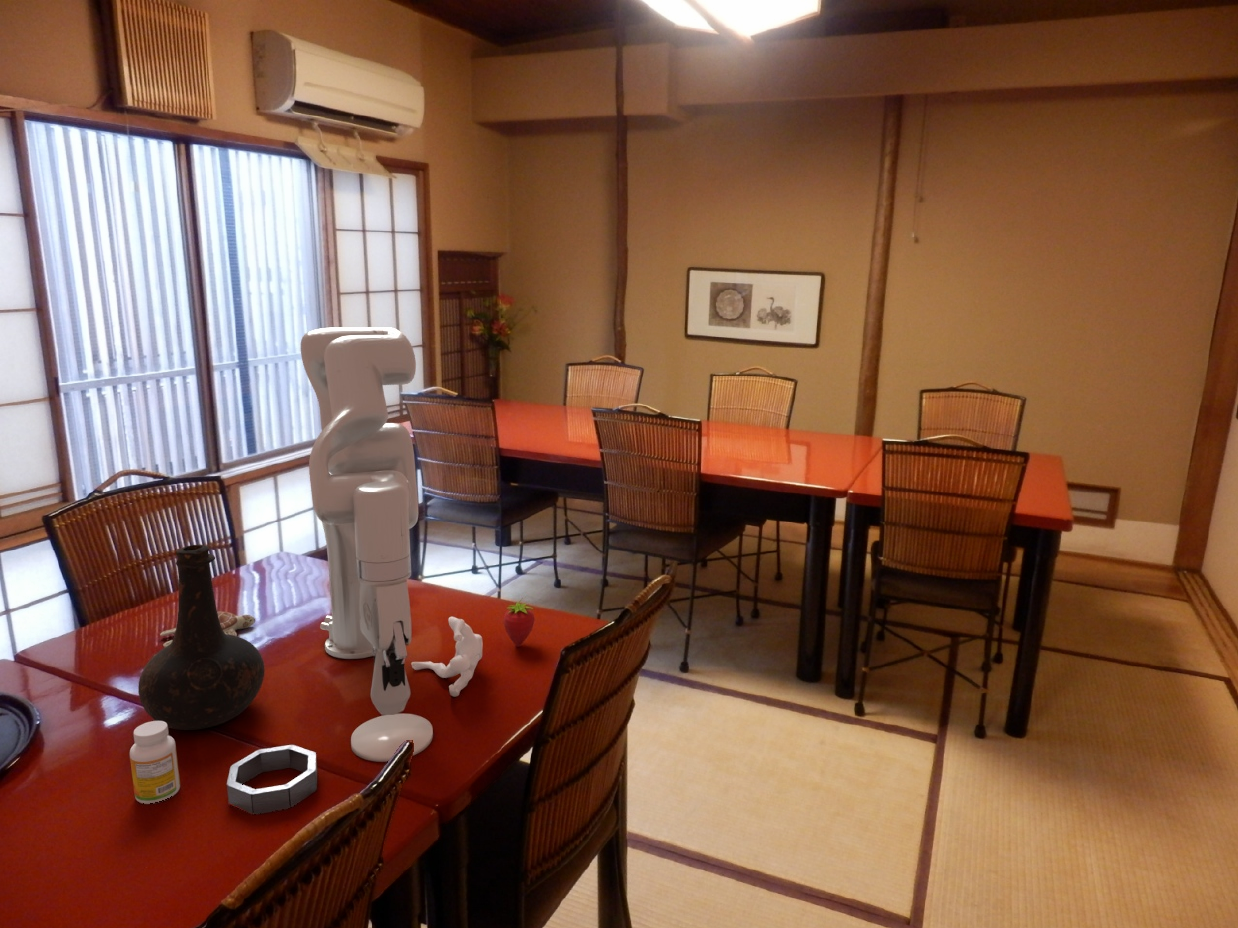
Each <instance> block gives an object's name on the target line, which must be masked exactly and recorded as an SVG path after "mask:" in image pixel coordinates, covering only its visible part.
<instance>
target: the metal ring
mask: <svg viewBox="0 0 1238 928" xmlns="http://www.w3.org/2000/svg"><path fill="white" fill-rule="evenodd" d="M316 753H317V752H315V751H312V750H309V749H306V748H303V747H300V746H298V745H295V744H289V745H281V746H275V747H268V748H261V749H257V750H255V751H254V752H252V753H250V754H249V755H246V756H245V757H244V758H242V759H241V760H238V761H237V762H235V763H233V764H232V765H230V768H229V773H228V777H227V781H226V787H227V798H228V804H229V803H230V804H232V805H234V806H237V807H239V808H241V809H243V810H245V811H247V812H249V813H248V814H250V813H251V814H250V815H252V814H253V813H254V814H256V815H261V814H264V813H265V814H266V813H271V812H272V811H273V812H276V811H275V810H278V811H282V809H284V810H288V808H290V807H292V808H294V807H295V806H296V805H297V803H298V804H299V803H300V802H301V801H303V800H305V799H306V798H308V797H309V796H310V795H312V794H313V793H315V792H317V790H318V766H317V765H318V764H317V762H318V761H317V754H316ZM289 768H290V769H293V770H296V771H299V772H301V774H299V775H297V777H295V778H294V779H292V780H291V781H289V782H287V783H285V784H281V785H274V786H269V787H262V788H256V789H255V788H252V787H251V786H248V785H245V784H246V783H247V782H249V781H250V779H251V780H252V779H254V778H255V777H257V776H258V774H259V775H260V774H262V773H266V772H271V771H278V770H284V769H289ZM246 781H247V782H246ZM245 782H246V783H245ZM243 783H244V784H243ZM242 784H243V785H242ZM294 805H295V806H294ZM290 809H291V808H290ZM245 811H244V812H245ZM247 812H246V813H247ZM260 813H261V814H260ZM254 814H253V815H254Z"/></svg>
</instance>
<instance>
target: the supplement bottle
mask: <svg viewBox="0 0 1238 928" xmlns="http://www.w3.org/2000/svg"><path fill="white" fill-rule="evenodd" d="M133 741H134V744H133V745H132V746H131V748H130V750H129V761H130V767H131V776H132V784H133V785H132V786H133V792H134V797H135V800H136V801H137V802H139V803H140V804H143V803H144V805H150V803H153V804H156V803H155V802H158V803H160V802H159V801H162V800H164V801H166V800H165V799H167V798H169V799H170V797H171V796H172V797H174V796H175V795H176V794H177V793H178V792H179V791H180V788H181V781H180V773H179V763H178V753H177V746H176V741H175V739H174V738H173V737H172V736H171V735H170V734H169V727H168V726H167V723H166V722H164V721H155V720H153V721H152V720H151V721H147V722H144V723H142V724H140V725H138V726H137V727H135V729H134V730H133ZM172 797H171V798H172ZM167 800H168V799H167ZM162 802H163V801H162Z"/></svg>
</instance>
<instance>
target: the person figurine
mask: <svg viewBox="0 0 1238 928" xmlns="http://www.w3.org/2000/svg"><path fill="white" fill-rule="evenodd" d="M447 620H448V625H449V627H450V628H451V630H452V631H453V640H454V641H455V654H454V657H453V658H451V659H450V660H449V663H448V664H447V666H446V665H445V663H443V662H436V663H434V662H432V661H412V662H411V663H410V664H411V667H412V669H414V671H415V670H416V671H419V670H424V669H430V670H433V671H434V672H435V674H436V675H437V676H439V677H440V678H442V679H444V678H445V679H447V678H452V677H455V676H457V675H459V674H460V676H459V678H457V679H456V680H455V682H454V683H452V684H450V685H449V686H448V689H449V690H448V691H449V694H450V696H452V697H453V698H455V697H458V696H459V695H460V692H461V690H463V689H464V688H466V687H467V686H468V683H469V682H470V680H471V679H472V678H473V676H474V672H475V669H476V667H477V665H478V663H479V661H480V660H481V659H482V658H483V647H484V646H483V643H484V642H483V637H482V636H481V634H478V633H474V632H473V629H472V627H471V626H470V625H469V624H467V623H466V622H465V620H464V619H462V618H457V617H455V616H450V617H448V619H447Z"/></svg>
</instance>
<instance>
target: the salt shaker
mask: <svg viewBox="0 0 1238 928" xmlns="http://www.w3.org/2000/svg"><path fill="white" fill-rule="evenodd" d="M391 644H394V641H393V642H391ZM391 644H390V645H391ZM394 652H395V649H394V650H390V651H389V656H390V654H391V653H394ZM375 656H376V657H375V664H374V663H373V672H372V673H373V674H372V682H371V688H370V698H371V699H370V700H371V702H372V704H373V705H374V707H375V709H376V710H377V711H378V713H379V714H381V716H384V715H394V714H400V713H402V712H404V710H405V708H406V705H407V703H408V700H409V699H410V697H411V694H412V693H411V687H410V683H409V681H408V676H407V672H406V671H405V686H404V685H403V683H402V681H401V684H400V685H399V686H396V687H392V686H391V685H390V683H388V685H387V688H386V690H385V691H384V688H383V679H382V666H383V665H384V657H383V651H382V652H380V651H378V650H377V649H376V655H375Z"/></svg>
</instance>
